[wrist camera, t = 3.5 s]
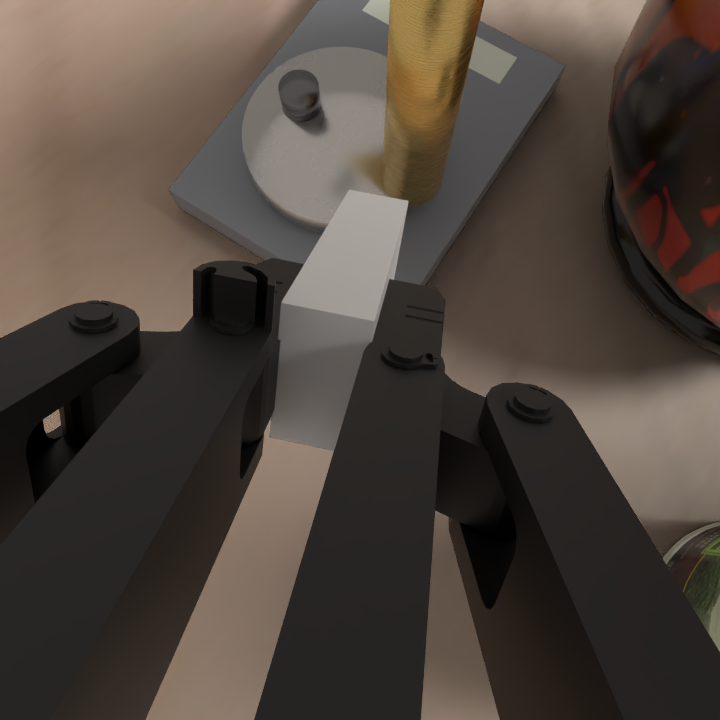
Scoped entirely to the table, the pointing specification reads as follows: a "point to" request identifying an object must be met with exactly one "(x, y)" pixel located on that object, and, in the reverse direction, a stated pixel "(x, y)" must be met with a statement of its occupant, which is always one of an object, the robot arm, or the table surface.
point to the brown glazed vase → (668, 166)
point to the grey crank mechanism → (465, 160)
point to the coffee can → (700, 574)
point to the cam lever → (362, 115)
